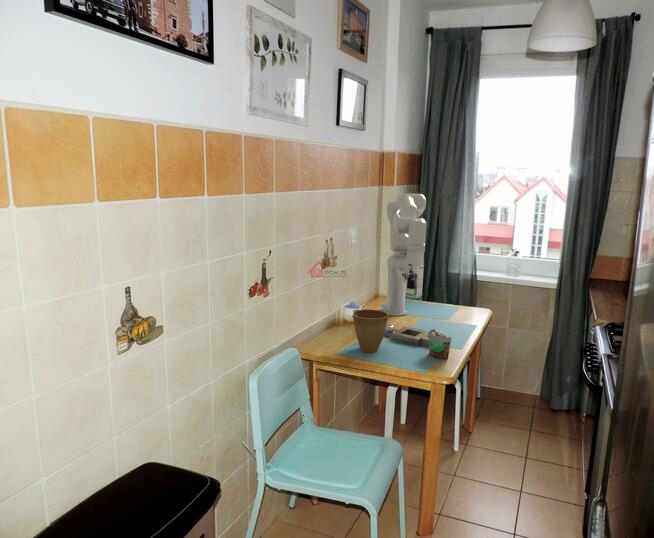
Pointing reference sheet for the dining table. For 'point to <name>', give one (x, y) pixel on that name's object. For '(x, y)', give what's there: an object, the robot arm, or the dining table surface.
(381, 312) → the plant pot
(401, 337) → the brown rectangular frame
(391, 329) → the plate with dome knob
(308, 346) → the dining table surface
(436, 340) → the food container
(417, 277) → the syrup box
